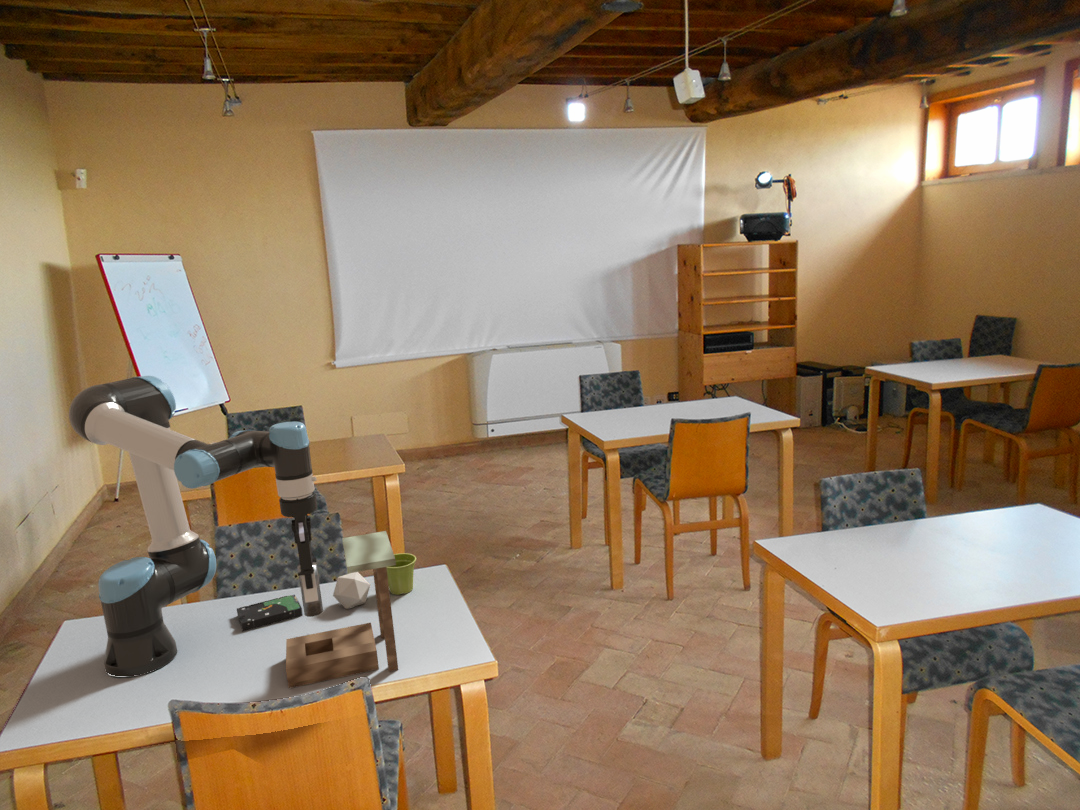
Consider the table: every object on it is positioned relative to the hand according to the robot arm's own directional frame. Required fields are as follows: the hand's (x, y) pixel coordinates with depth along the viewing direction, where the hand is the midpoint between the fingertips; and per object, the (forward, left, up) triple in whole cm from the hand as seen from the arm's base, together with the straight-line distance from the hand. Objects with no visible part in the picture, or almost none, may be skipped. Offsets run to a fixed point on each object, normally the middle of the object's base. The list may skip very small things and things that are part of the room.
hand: (311, 596), depth 171 cm
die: (+9, +29, -17) cm, 35 cm away
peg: (0, 0, -4) cm, 4 cm away
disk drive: (-12, +32, -17) cm, 38 cm away
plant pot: (+22, +32, -17) cm, 43 cm away
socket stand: (+6, 0, -17) cm, 18 cm away
